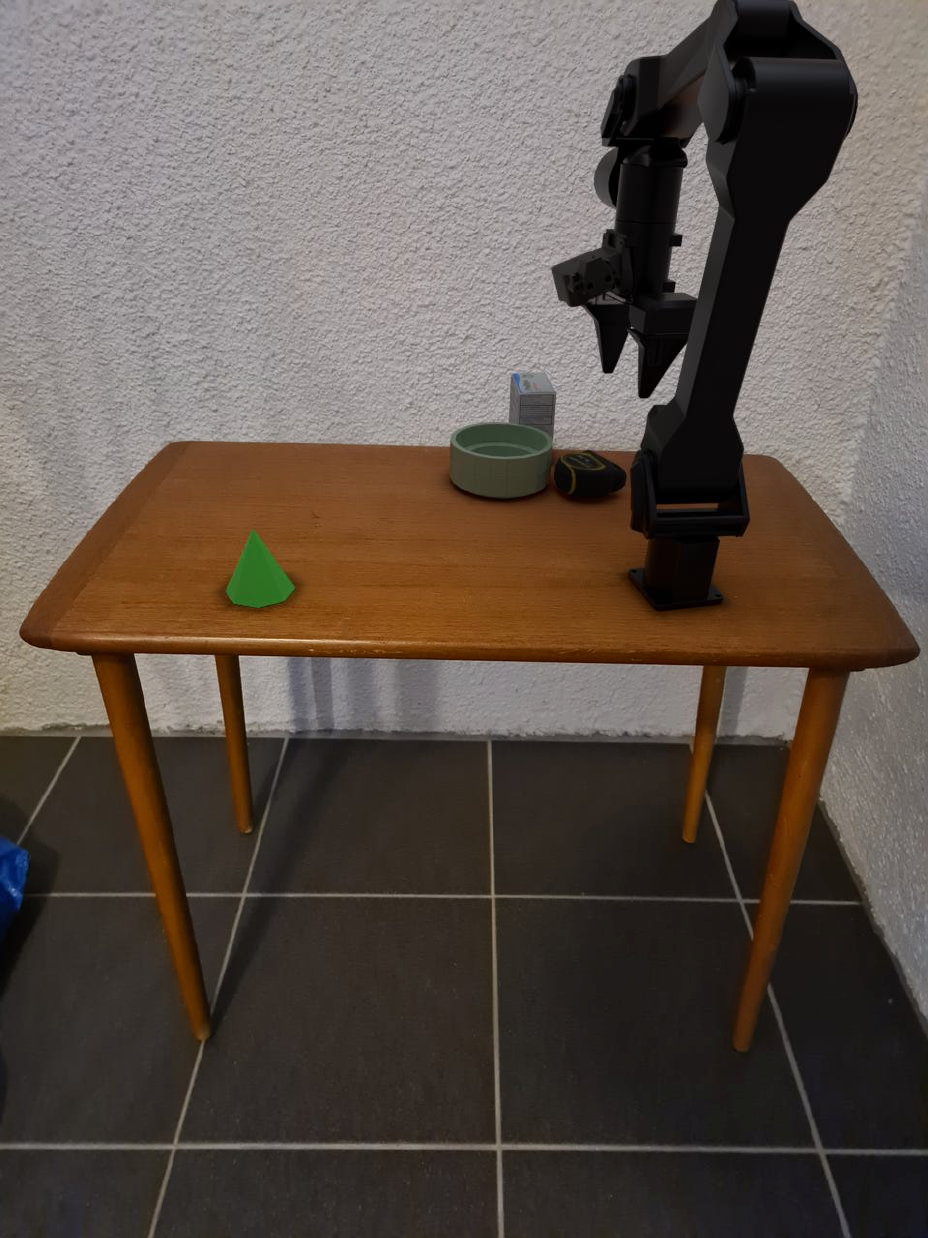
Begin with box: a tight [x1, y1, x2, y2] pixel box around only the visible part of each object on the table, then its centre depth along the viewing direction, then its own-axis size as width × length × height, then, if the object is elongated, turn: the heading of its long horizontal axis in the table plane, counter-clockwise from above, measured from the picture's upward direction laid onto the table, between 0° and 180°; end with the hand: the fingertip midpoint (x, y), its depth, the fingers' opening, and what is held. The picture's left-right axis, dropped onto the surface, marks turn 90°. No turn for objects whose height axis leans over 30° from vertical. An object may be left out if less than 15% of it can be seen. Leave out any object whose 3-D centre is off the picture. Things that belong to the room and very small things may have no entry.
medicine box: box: [508, 371, 557, 440], centre depth 99 cm, size 8×4×9 cm, turn 4°
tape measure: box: [552, 449, 628, 499], centre depth 90 cm, size 7×7×4 cm
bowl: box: [449, 421, 554, 499], centre depth 92 cm, size 11×11×5 cm
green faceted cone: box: [225, 528, 296, 609], centre depth 71 cm, size 6×6×6 cm
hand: (624, 385), depth 86 cm, fingers open, 9 cm apart
